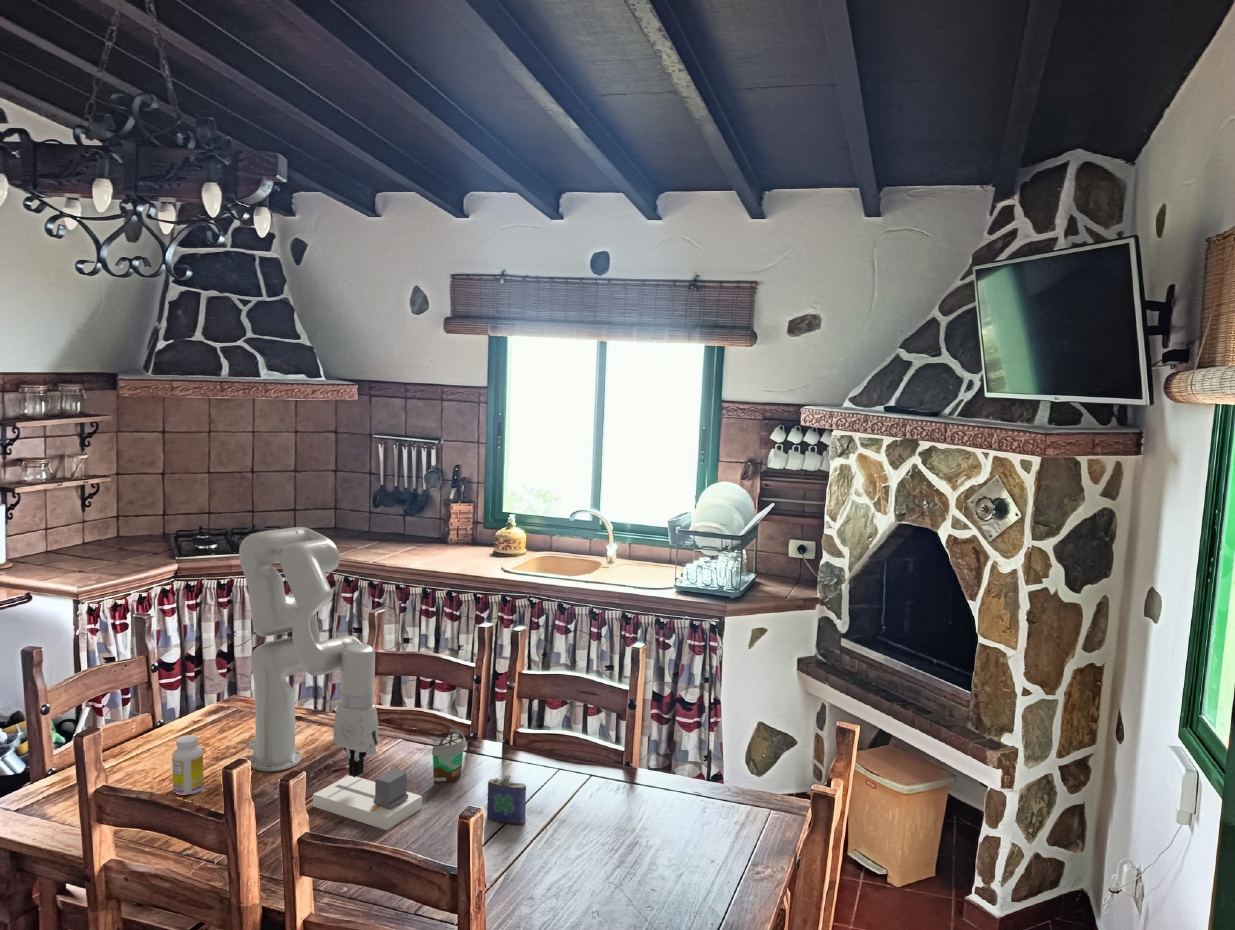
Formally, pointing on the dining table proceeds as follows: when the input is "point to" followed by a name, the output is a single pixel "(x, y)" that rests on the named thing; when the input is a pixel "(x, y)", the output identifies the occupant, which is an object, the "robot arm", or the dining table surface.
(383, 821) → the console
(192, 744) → the supplement bottle
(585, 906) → the dining table surface
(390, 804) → the fader tab
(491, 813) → the flask
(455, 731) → the food container
